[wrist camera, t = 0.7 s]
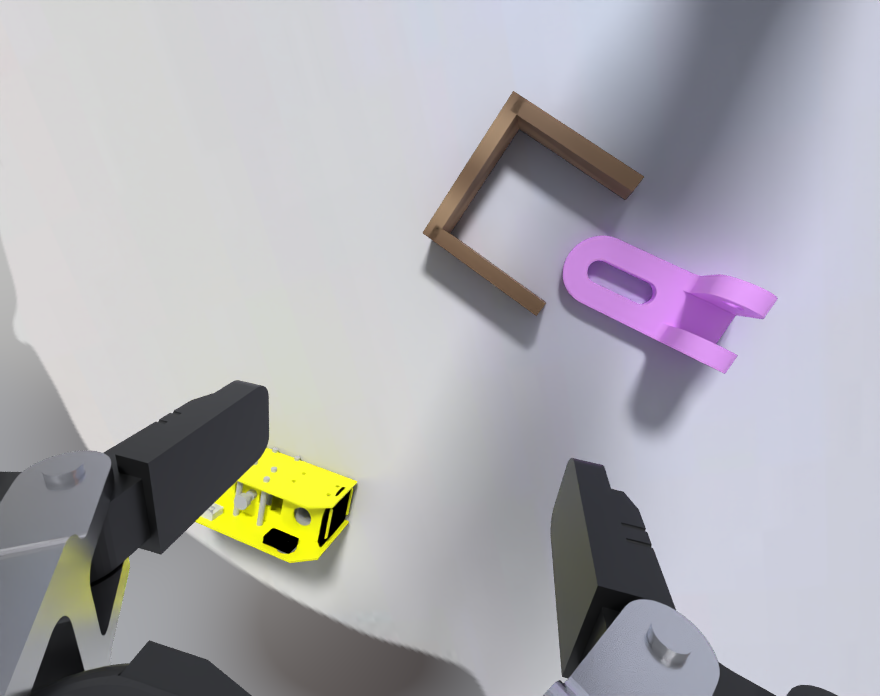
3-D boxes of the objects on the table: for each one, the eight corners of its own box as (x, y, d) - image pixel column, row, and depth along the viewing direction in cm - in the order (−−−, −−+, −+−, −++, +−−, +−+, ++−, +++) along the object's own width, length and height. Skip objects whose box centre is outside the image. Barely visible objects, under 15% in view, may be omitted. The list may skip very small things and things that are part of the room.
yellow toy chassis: (226, 473, 47) (161, 511, 39) (232, 428, 46) (166, 458, 38) (351, 522, 44) (307, 575, 36) (361, 475, 42) (317, 518, 34)
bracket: (738, 298, 32) (789, 300, 25) (696, 360, 33) (734, 378, 26) (583, 226, 34) (592, 211, 27) (550, 287, 35) (551, 287, 28)
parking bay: (516, 107, 33) (513, 91, 31) (635, 186, 32) (644, 176, 29) (432, 237, 37) (422, 232, 34) (537, 313, 35) (536, 316, 33)
